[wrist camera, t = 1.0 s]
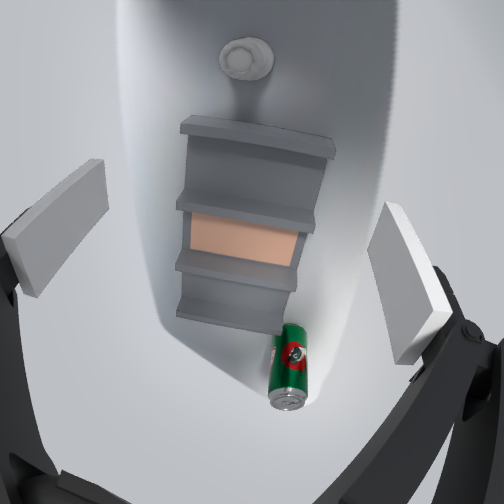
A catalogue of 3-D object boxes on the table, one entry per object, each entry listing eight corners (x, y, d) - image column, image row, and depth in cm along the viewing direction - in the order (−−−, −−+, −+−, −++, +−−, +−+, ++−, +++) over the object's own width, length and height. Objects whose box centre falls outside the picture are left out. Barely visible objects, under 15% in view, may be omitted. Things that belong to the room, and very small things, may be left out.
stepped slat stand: (192, 115, 30) (180, 123, 26) (330, 138, 30) (336, 149, 26) (183, 297, 44) (176, 316, 41) (281, 315, 44) (280, 335, 41)
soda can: (268, 325, 46) (261, 396, 36) (302, 318, 44) (302, 391, 34) (278, 345, 48) (274, 413, 38) (310, 340, 47) (311, 409, 37)
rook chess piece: (249, 28, 24) (236, 18, 18) (284, 58, 25) (284, 58, 19) (217, 60, 26) (195, 63, 20) (252, 89, 28) (241, 100, 21)
